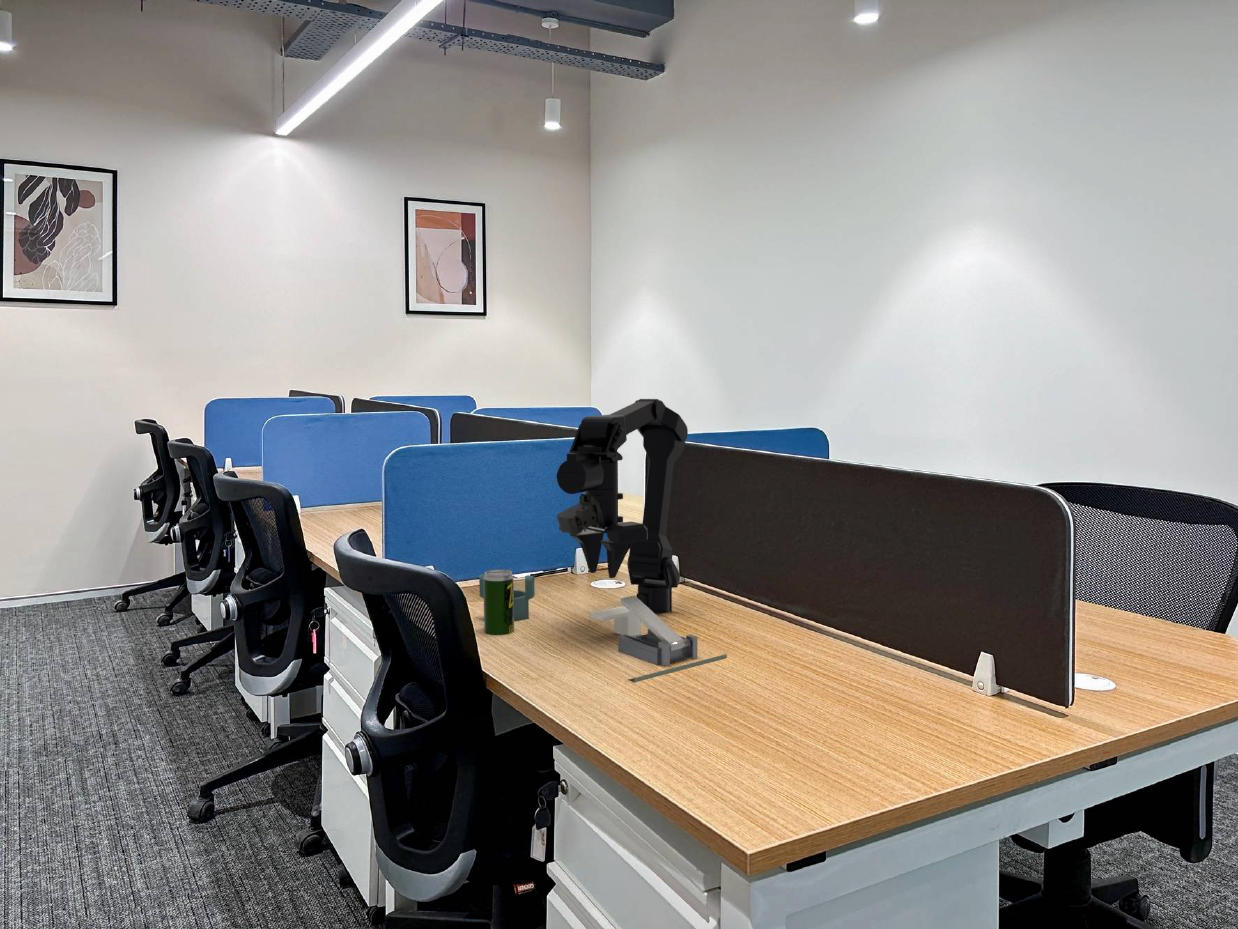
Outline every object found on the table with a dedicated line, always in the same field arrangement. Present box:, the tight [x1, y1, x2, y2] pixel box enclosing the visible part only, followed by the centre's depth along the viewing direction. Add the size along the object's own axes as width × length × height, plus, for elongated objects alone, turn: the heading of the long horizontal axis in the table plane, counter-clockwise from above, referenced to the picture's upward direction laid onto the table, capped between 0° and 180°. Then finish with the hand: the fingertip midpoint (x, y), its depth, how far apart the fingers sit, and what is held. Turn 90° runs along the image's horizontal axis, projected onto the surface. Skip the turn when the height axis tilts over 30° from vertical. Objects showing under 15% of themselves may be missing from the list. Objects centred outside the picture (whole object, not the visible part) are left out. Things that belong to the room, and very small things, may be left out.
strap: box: [619, 595, 690, 652], centre depth 155 cm, size 4×15×1 cm, turn 38°
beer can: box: [483, 569, 515, 636], centre depth 168 cm, size 5×5×12 cm
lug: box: [588, 605, 642, 637], centre depth 165 cm, size 8×4×4 cm, turn 128°
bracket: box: [478, 573, 535, 623], centre depth 181 cm, size 9×9×9 cm
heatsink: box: [617, 628, 698, 668], centre depth 154 cm, size 8×11×4 cm
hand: (602, 575), depth 165 cm, fingers open, 5 cm apart
